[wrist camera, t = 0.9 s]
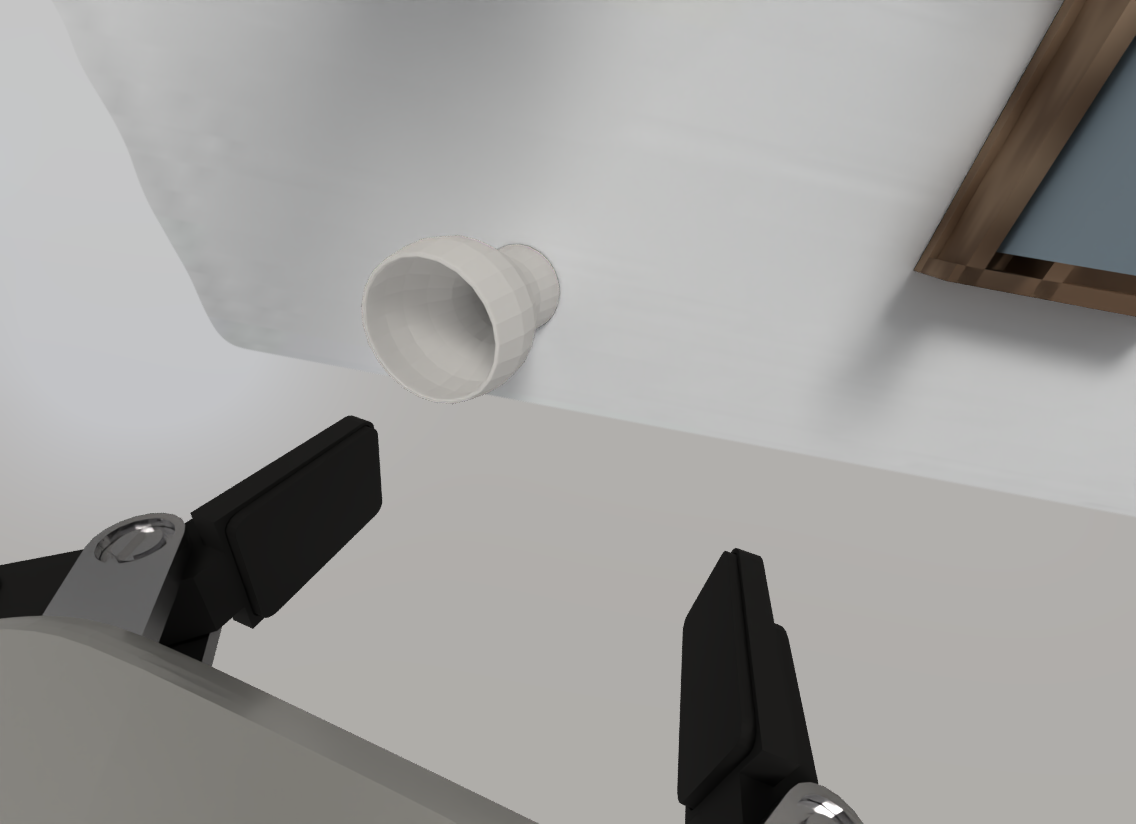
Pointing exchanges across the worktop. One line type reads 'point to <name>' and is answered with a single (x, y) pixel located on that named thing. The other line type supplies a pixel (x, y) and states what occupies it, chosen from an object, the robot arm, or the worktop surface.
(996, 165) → the rack
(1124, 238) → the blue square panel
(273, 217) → the worktop surface
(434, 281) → the cup
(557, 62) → the worktop surface
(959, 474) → the worktop surface
